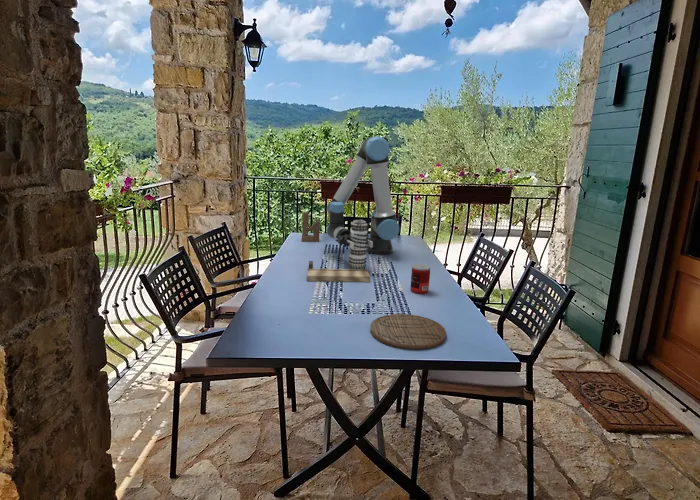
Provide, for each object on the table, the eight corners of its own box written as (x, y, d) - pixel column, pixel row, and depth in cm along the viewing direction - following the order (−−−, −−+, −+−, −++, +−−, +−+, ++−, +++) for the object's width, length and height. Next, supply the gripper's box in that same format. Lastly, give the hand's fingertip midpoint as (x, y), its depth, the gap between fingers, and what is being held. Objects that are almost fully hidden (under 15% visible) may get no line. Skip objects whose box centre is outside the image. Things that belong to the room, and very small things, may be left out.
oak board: (366, 274, 208) (367, 269, 207) (369, 282, 197) (369, 276, 196) (307, 273, 205) (307, 268, 204) (307, 281, 194) (307, 275, 194)
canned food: (429, 289, 190) (431, 265, 187) (426, 295, 183) (428, 270, 180) (412, 287, 192) (414, 263, 190) (408, 292, 185) (410, 267, 182)
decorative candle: (370, 271, 213) (373, 221, 207) (357, 275, 206) (360, 223, 200) (356, 267, 219) (359, 218, 213) (343, 270, 212) (345, 220, 206)
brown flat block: (312, 268, 214) (313, 260, 213) (312, 272, 208) (313, 264, 207) (308, 268, 213) (308, 260, 212) (308, 272, 208) (308, 264, 207)
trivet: (455, 351, 135) (456, 345, 134) (375, 351, 133) (375, 345, 132) (434, 319, 159) (434, 314, 159) (366, 318, 157) (366, 313, 157)
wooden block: (319, 242, 270) (319, 213, 266) (301, 241, 269) (302, 212, 265) (319, 240, 274) (319, 212, 269) (301, 240, 273) (302, 211, 269)
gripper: (362, 241, 230) (382, 251, 211) (323, 243, 221) (341, 254, 202) (362, 227, 229) (383, 236, 209) (323, 229, 220) (341, 238, 200)
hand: (362, 245), depth 205 cm, fingers open, 9 cm apart
